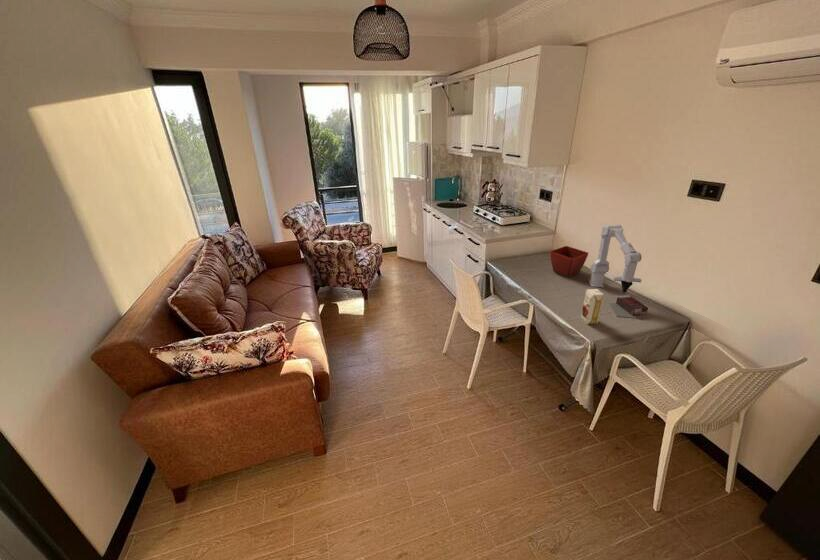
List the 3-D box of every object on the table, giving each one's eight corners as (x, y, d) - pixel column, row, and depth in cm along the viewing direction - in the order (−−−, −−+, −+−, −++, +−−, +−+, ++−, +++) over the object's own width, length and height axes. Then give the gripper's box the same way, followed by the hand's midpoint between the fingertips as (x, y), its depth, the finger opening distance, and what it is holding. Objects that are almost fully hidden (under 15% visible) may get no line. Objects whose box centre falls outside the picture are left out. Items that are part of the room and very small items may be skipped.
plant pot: (568, 280, 237) (572, 258, 230) (546, 271, 252) (549, 251, 245) (585, 273, 246) (589, 252, 238) (562, 265, 261) (566, 245, 253)
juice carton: (591, 316, 193) (598, 288, 185) (599, 324, 186) (606, 295, 177) (578, 317, 193) (584, 288, 185) (586, 325, 185) (592, 295, 177)
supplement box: (614, 302, 205) (632, 316, 191) (616, 296, 203) (634, 308, 189) (628, 301, 206) (646, 314, 191) (629, 294, 204) (648, 307, 189)
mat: (609, 303, 206) (609, 302, 206) (632, 305, 203) (632, 304, 202) (617, 316, 192) (617, 316, 192) (642, 318, 189) (642, 318, 189)
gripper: (617, 273, 193) (612, 294, 199) (645, 275, 190) (639, 295, 196) (614, 269, 200) (609, 288, 205) (641, 270, 196) (635, 290, 202)
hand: (623, 291), depth 201 cm, fingers closed
